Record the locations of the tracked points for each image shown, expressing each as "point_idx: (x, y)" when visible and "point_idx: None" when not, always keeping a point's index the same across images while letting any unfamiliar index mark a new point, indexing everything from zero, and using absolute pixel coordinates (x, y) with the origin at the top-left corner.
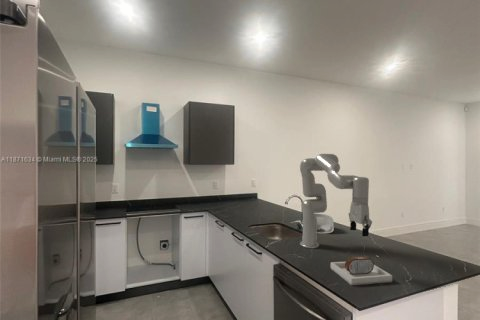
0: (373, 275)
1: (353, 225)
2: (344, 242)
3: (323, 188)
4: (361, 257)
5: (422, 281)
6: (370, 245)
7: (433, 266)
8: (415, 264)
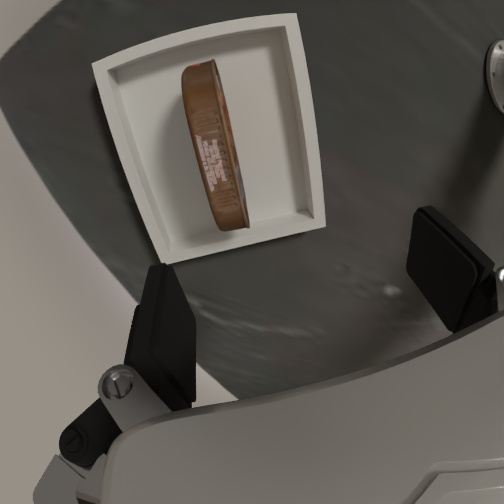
0: (201, 197)
1: (446, 277)
2: (496, 229)
3: None
4: (223, 173)
5: None
6: None
7: (296, 385)
8: (312, 361)
